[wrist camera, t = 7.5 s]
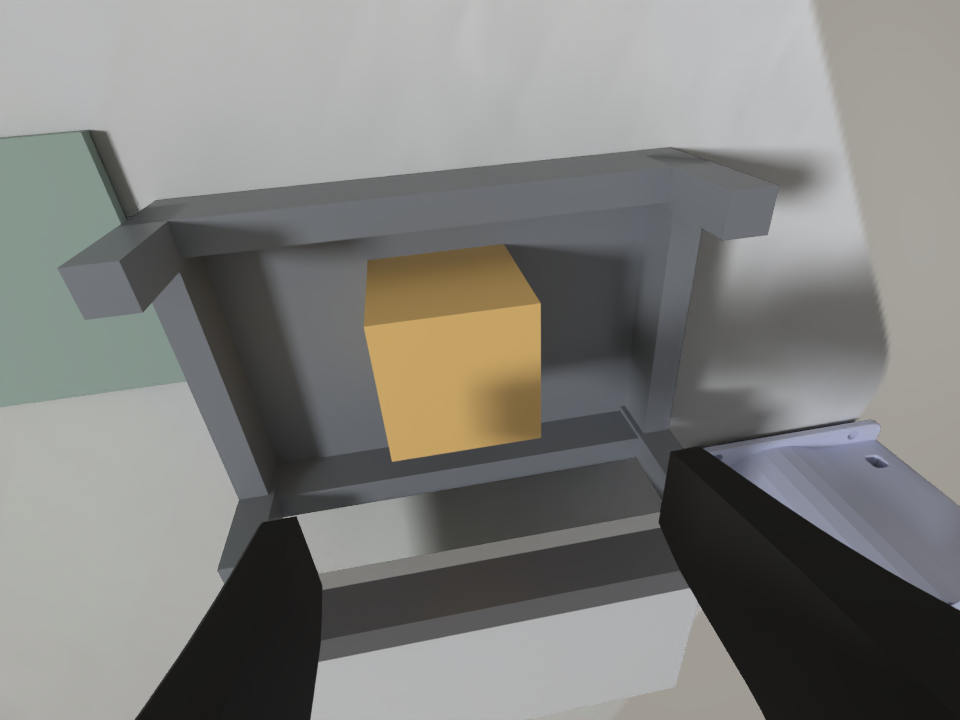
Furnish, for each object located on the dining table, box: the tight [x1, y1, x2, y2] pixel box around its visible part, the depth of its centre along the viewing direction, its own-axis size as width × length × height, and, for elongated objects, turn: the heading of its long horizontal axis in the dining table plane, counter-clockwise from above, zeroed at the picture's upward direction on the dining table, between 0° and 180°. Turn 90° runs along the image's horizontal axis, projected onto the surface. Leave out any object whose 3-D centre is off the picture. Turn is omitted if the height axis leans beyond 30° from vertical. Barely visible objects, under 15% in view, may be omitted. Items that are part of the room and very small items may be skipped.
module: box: [364, 244, 541, 462], centre depth 16 cm, size 4×4×5 cm
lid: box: [310, 512, 698, 720], centre depth 19 cm, size 16×11×2 cm
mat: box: [0, 130, 186, 407], centre depth 16 cm, size 7×8×1 cm
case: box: [57, 147, 779, 584], centre depth 17 cm, size 16×11×6 cm
